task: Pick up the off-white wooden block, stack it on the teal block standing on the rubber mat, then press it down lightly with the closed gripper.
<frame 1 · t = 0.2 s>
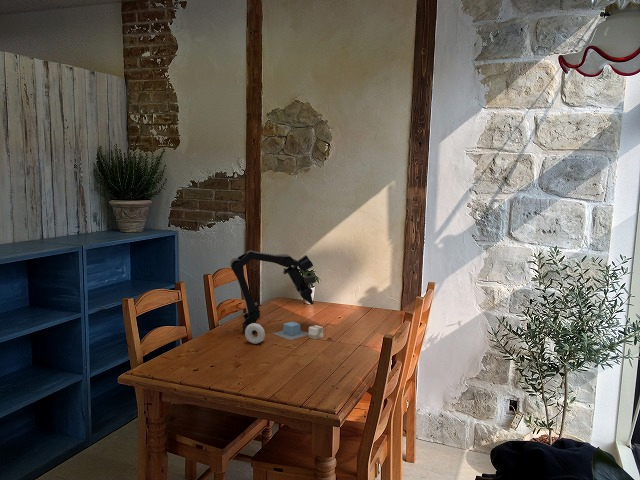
hand: (311, 301, 269), 15 cm above the table, tool tilted 30°, fingers open, 9 cm apart
base mat: (291, 335, 262), on the table
bottom brick: (291, 333, 262), point 1 cm above the table, touching base mat
donut: (254, 344, 249), on the table
top brick: (315, 339, 257), on the table
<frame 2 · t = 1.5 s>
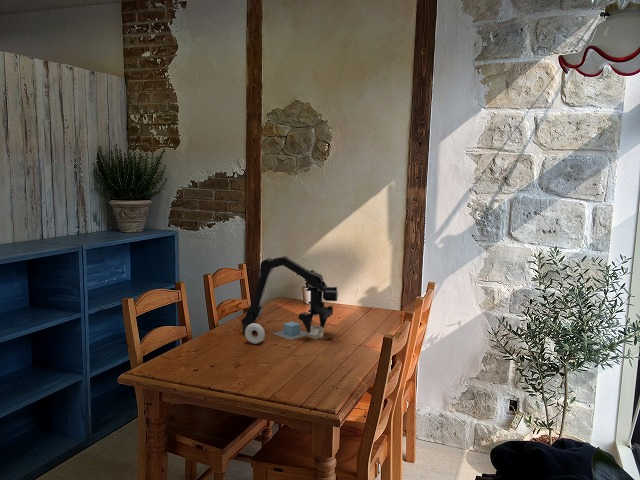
hand: (315, 331, 257), 4 cm above the table, tool pointing down, fingers open, 9 cm apart
nothing on the table moved.
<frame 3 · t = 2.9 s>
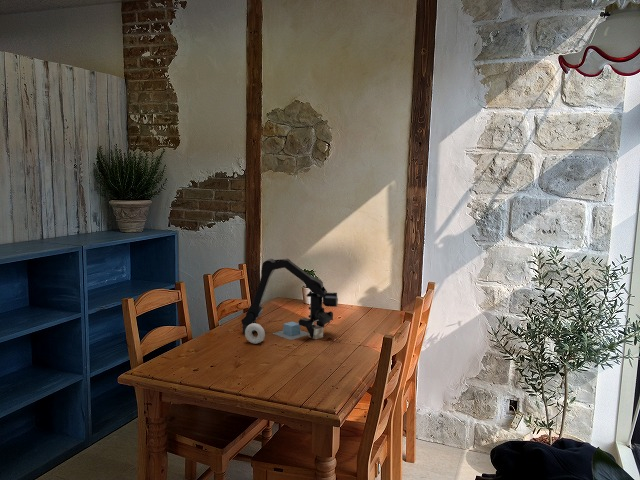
hand: (315, 336, 257), 1 cm above the table, tool pointing down, fingers closed on top brick, 5 cm apart
top brick: (315, 339, 257), on the table, touching gripper
everything else where it was.
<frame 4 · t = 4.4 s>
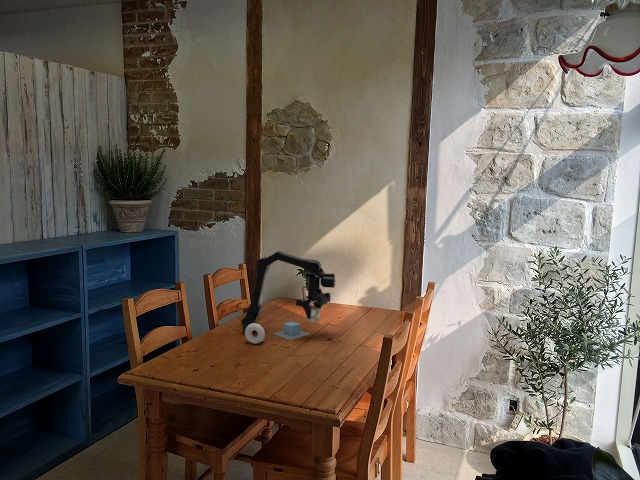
hand: (312, 317, 256), 11 cm above the table, tool pointing down, fingers closed on top brick, 5 cm apart
top brick: (312, 320, 257), point 9 cm above the table, touching gripper
everything else where it was.
when the fingers open (9 cm above the table, at t = 6.3 s): top brick drops 1 cm, resting on bottom brick.
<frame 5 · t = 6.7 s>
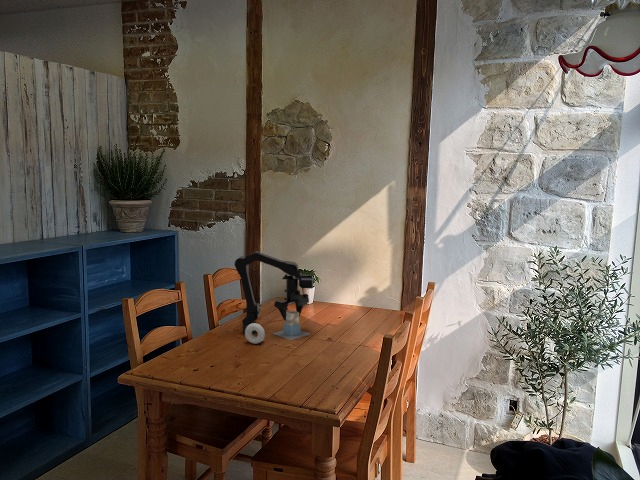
hand: (291, 318, 261), 9 cm above the table, tool pointing down, fingers open, 9 cm apart
bottom brick: (291, 333, 262), point 1 cm above the table, touching base mat, top brick
top brick: (291, 323, 261), point 6 cm above the table, touching bottom brick
everything else where it was.
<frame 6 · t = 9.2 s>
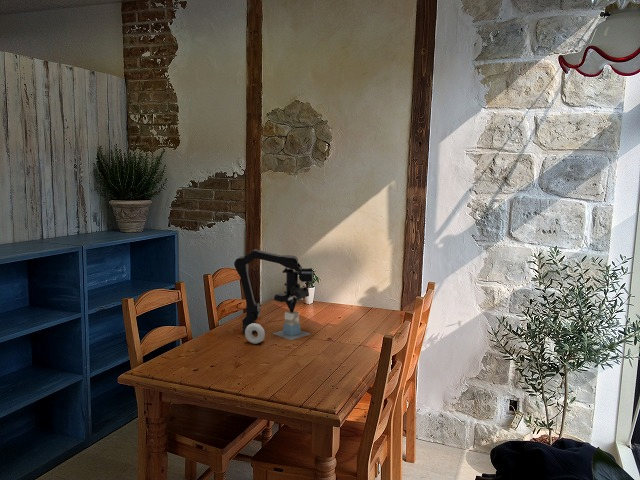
hand: (291, 312, 260), 12 cm above the table, tool pointing down, fingers closed, pressing on top brick
top brick: (291, 323, 261), point 6 cm above the table, touching bottom brick, gripper
everything else where it was.
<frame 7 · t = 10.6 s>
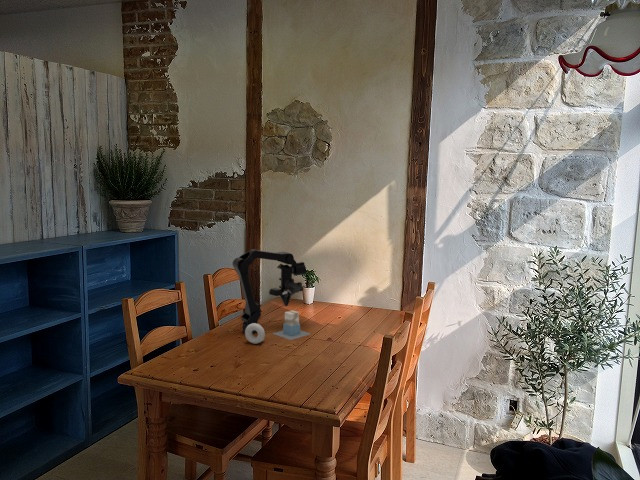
hand: (286, 306, 272), 12 cm above the table, tool pointing down, fingers closed
top brick: (291, 323, 261), point 6 cm above the table, touching bottom brick
everything else where it was.
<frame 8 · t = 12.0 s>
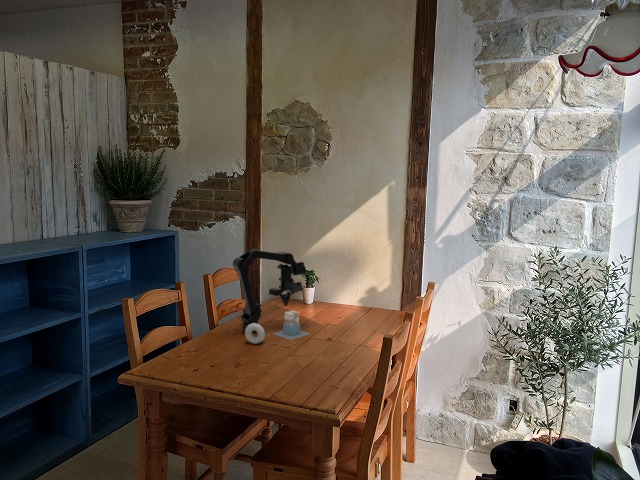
hand: (285, 305, 272), 12 cm above the table, tool pointing down, fingers closed
nothing on the table moved.
at the end: top brick 0.0 cm off-centre on the bottom brick, point 5.0 cm above the bottom brick's base; top brick tilted 0°; the gripper is holding nothing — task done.
